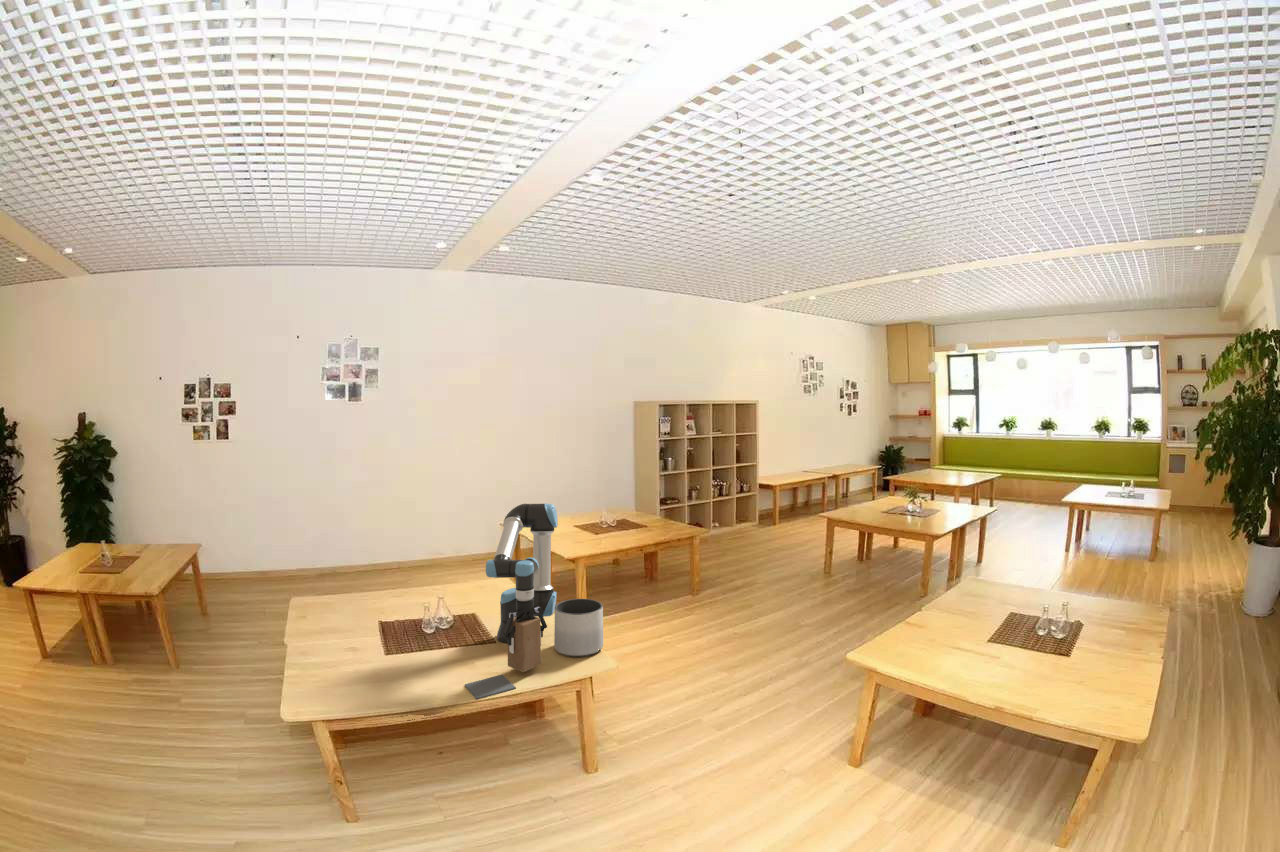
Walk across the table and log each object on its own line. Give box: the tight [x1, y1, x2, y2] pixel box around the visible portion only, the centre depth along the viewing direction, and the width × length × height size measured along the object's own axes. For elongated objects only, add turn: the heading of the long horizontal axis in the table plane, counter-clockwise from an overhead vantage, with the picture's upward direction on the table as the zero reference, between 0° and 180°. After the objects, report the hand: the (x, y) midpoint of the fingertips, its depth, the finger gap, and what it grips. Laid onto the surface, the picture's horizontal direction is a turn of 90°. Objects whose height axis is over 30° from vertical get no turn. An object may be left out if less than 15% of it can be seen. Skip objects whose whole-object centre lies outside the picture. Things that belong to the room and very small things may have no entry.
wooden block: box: [507, 616, 542, 673], centre depth 258 cm, size 10×10×20 cm
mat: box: [464, 674, 516, 701], centre depth 245 cm, size 14×16×1 cm
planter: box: [553, 598, 604, 658], centre depth 283 cm, size 23×23×20 cm
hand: (525, 648), depth 258 cm, fingers closed on wooden block, 12 cm apart
